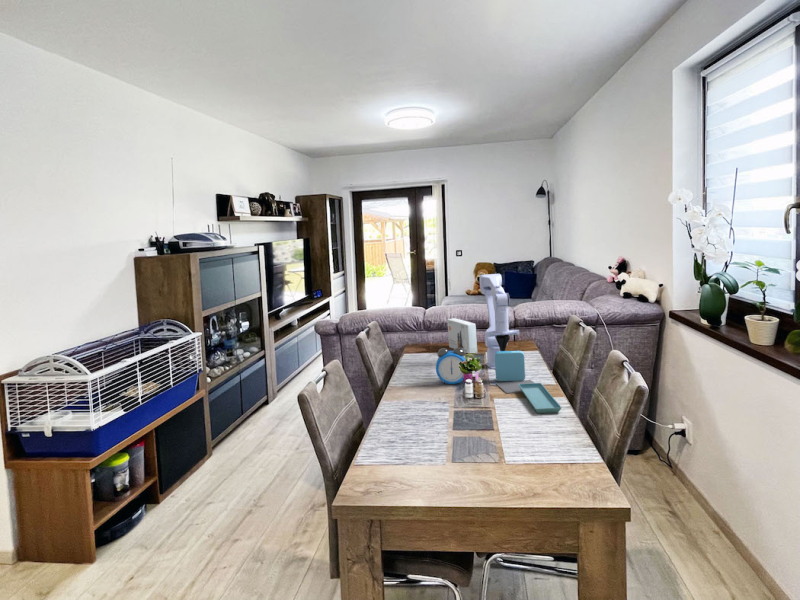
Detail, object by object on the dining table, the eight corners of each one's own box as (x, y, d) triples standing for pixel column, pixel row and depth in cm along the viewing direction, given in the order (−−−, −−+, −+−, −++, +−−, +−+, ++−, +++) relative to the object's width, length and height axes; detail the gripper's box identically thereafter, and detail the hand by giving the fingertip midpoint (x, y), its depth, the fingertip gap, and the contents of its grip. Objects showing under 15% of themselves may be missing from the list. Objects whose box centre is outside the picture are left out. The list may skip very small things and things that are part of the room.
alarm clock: (436, 385, 218) (435, 350, 216) (436, 380, 224) (435, 346, 222) (468, 384, 216) (466, 349, 214) (467, 380, 222) (466, 345, 220)
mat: (495, 384, 215) (495, 383, 215) (530, 380, 217) (530, 379, 217) (506, 393, 202) (506, 392, 202) (543, 390, 204) (543, 389, 204)
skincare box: (448, 347, 284) (446, 318, 282) (456, 346, 287) (455, 317, 284) (468, 355, 265) (467, 324, 263) (477, 353, 268) (476, 323, 265)
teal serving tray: (562, 413, 178) (562, 406, 178) (535, 414, 178) (535, 407, 178) (541, 388, 204) (541, 382, 204) (518, 390, 204) (517, 383, 204)
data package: (524, 378, 219) (523, 350, 218) (525, 381, 215) (524, 352, 214) (496, 378, 222) (494, 351, 221) (495, 381, 217) (494, 353, 216)
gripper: (488, 324, 219) (489, 355, 221) (521, 321, 221) (522, 352, 223) (483, 321, 226) (484, 352, 228) (515, 319, 228) (516, 349, 230)
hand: (502, 352), depth 226 cm, fingers closed
